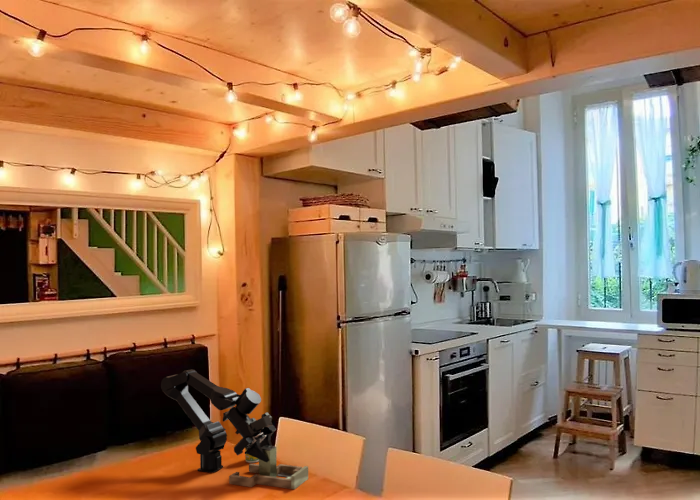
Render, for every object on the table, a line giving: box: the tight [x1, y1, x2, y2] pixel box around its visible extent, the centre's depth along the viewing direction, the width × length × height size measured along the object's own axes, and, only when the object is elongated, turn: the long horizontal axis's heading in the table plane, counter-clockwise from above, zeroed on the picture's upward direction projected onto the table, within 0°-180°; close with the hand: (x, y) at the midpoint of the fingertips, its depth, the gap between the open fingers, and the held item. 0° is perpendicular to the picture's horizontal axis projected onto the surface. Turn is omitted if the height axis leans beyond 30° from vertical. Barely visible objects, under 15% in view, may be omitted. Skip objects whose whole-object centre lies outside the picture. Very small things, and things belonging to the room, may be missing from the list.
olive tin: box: [258, 445, 278, 477], centre depth 191 cm, size 4×4×10 cm
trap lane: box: [228, 463, 309, 490], centre depth 191 cm, size 22×16×4 cm
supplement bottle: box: [244, 448, 259, 464], centre depth 210 cm, size 5×5×10 cm
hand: (271, 459), depth 191 cm, fingers closed on olive tin, 4 cm apart
